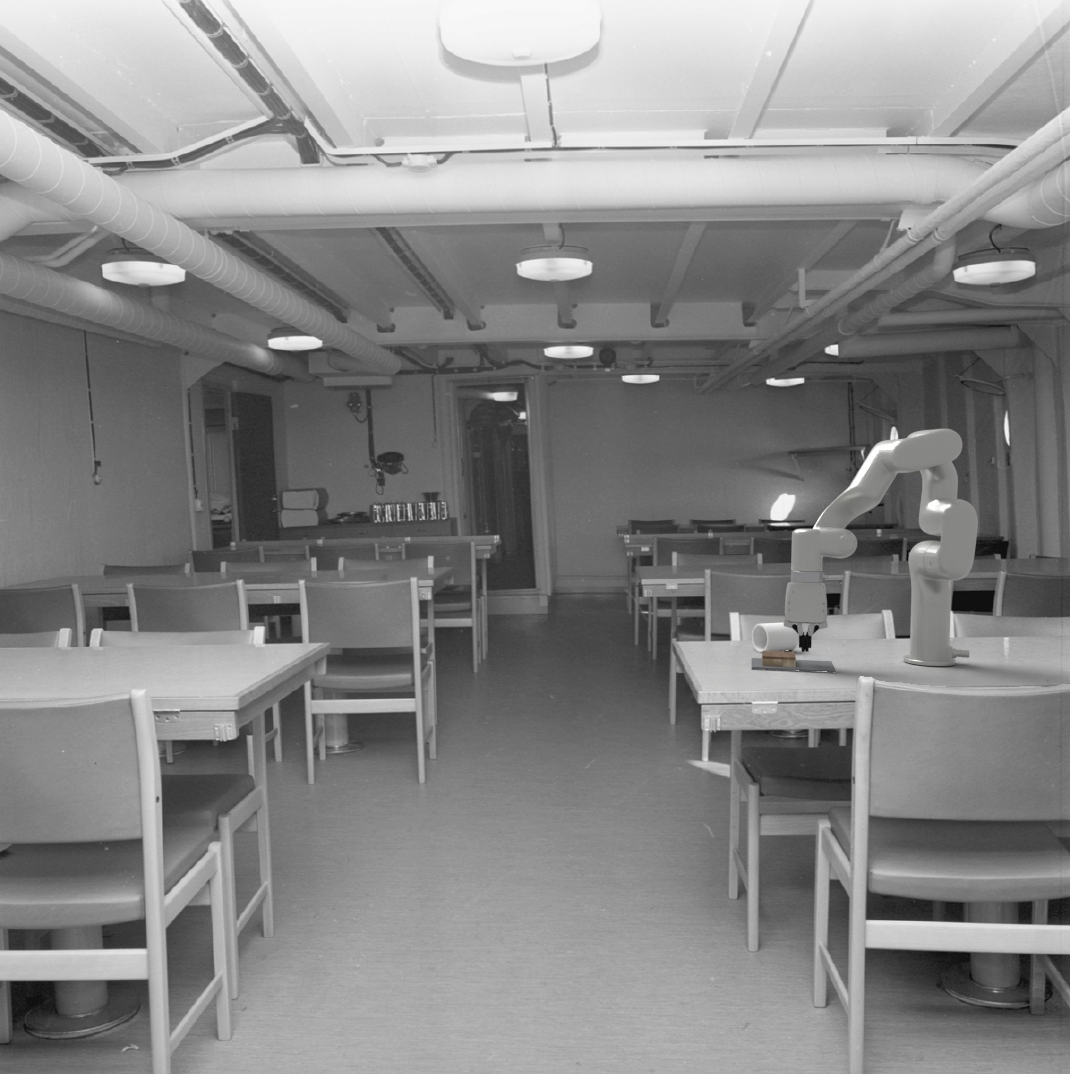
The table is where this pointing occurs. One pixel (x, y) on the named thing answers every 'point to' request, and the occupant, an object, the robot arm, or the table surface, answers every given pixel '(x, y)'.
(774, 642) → the mug
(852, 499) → the robot arm
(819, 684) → the table surface
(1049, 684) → the table surface
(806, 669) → the mat
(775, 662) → the tile
